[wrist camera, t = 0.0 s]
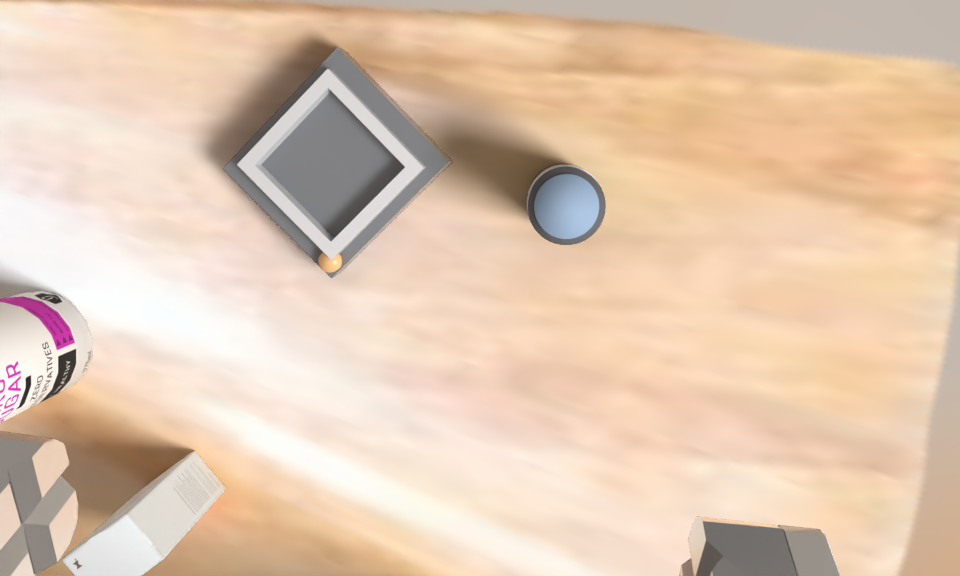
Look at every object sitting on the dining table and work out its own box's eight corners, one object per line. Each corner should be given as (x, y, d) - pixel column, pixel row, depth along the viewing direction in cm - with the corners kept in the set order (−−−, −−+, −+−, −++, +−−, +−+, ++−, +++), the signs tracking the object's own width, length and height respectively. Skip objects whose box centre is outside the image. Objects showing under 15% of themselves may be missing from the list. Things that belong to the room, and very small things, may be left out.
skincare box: (174, 528, 68) (97, 608, 56) (141, 488, 68) (57, 560, 56) (230, 488, 67) (164, 560, 55) (196, 447, 67) (123, 511, 55)
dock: (340, 272, 64) (326, 281, 59) (237, 167, 63) (215, 169, 58) (452, 161, 62) (445, 162, 57) (347, 52, 61) (332, 44, 56)
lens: (560, 244, 62) (564, 263, 52) (513, 196, 62) (509, 205, 52) (610, 197, 61) (624, 207, 51) (563, 148, 61) (568, 148, 51)
